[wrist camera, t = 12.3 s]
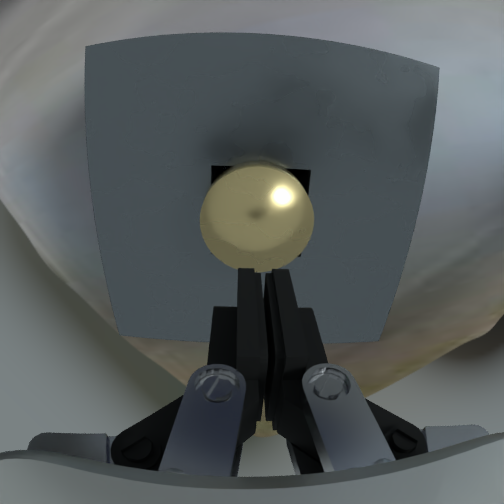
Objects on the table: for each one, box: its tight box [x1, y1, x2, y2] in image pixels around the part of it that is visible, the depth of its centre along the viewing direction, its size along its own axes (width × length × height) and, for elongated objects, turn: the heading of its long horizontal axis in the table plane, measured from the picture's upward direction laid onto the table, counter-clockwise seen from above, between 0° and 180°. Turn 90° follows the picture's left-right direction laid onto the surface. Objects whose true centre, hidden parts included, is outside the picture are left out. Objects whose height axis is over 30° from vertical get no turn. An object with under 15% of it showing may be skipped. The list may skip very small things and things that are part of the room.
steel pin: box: [200, 161, 314, 272], centre depth 21 cm, size 6×6×10 cm
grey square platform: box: [85, 33, 439, 343], centre depth 22 cm, size 20×20×8 cm
